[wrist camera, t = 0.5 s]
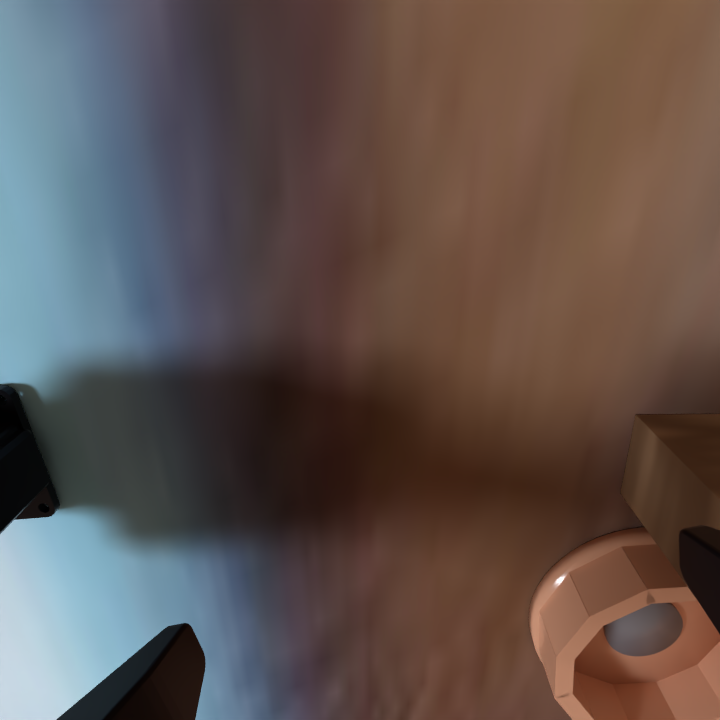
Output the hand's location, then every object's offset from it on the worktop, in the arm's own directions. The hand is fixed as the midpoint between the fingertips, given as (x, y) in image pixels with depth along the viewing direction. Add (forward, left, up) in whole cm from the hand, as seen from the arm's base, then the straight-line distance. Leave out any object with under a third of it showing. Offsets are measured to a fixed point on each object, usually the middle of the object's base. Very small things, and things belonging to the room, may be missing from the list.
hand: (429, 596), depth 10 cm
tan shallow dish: (+11, -15, -13) cm, 22 cm away
